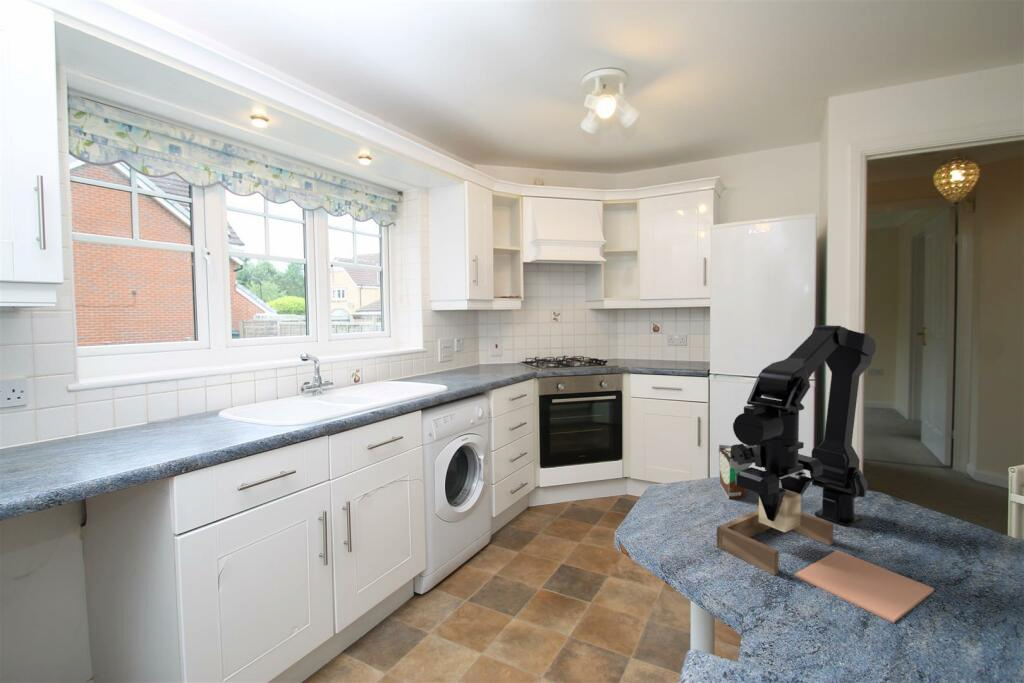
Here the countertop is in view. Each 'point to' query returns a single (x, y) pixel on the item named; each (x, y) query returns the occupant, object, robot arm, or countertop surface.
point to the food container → (730, 473)
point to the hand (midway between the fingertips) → (779, 516)
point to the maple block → (784, 512)
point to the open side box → (760, 555)
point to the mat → (865, 585)
